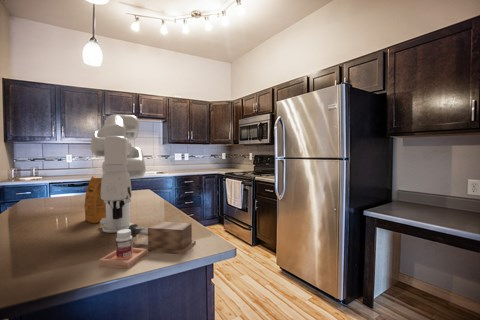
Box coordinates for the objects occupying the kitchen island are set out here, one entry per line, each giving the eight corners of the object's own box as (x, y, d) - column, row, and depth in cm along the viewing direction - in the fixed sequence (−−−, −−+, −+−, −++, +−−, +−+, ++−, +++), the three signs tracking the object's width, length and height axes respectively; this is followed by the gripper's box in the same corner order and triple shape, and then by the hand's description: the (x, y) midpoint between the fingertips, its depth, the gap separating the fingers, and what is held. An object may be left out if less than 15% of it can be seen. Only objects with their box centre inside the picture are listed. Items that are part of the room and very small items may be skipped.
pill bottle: (120, 254, 78) (119, 228, 78) (135, 253, 79) (134, 228, 79) (113, 260, 74) (112, 233, 73) (129, 260, 74) (128, 233, 74)
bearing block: (125, 249, 84) (125, 227, 84) (142, 239, 94) (142, 219, 94) (184, 254, 80) (183, 231, 79) (195, 243, 89) (195, 222, 89)
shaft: (128, 239, 87) (127, 226, 87) (136, 234, 91) (136, 222, 91) (160, 241, 84) (160, 228, 84) (167, 237, 89) (167, 224, 89)
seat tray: (99, 265, 72) (98, 259, 72) (121, 251, 82) (121, 246, 82) (128, 268, 70) (128, 262, 70) (148, 254, 80) (147, 248, 80)
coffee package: (102, 215, 129) (101, 175, 128) (113, 219, 122) (112, 176, 121) (81, 220, 121) (80, 177, 120) (92, 224, 114) (90, 178, 113)
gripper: (91, 170, 87) (92, 220, 87) (127, 169, 84) (128, 221, 84) (106, 169, 94) (107, 215, 95) (140, 168, 91) (141, 216, 92)
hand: (117, 218), depth 89 cm, fingers closed
